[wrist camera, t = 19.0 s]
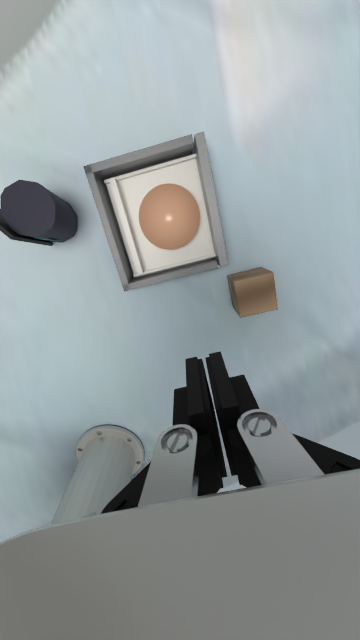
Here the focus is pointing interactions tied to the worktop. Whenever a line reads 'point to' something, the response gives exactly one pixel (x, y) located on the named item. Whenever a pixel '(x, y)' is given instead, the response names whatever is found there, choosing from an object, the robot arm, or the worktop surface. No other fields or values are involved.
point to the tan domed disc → (169, 216)
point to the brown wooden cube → (253, 292)
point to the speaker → (35, 214)
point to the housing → (108, 217)
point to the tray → (192, 177)
